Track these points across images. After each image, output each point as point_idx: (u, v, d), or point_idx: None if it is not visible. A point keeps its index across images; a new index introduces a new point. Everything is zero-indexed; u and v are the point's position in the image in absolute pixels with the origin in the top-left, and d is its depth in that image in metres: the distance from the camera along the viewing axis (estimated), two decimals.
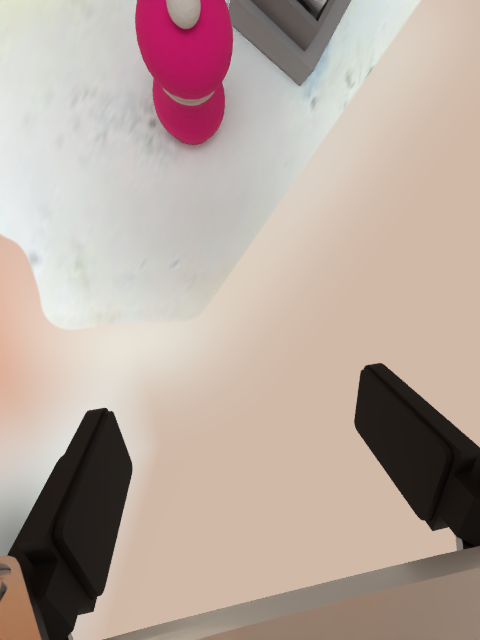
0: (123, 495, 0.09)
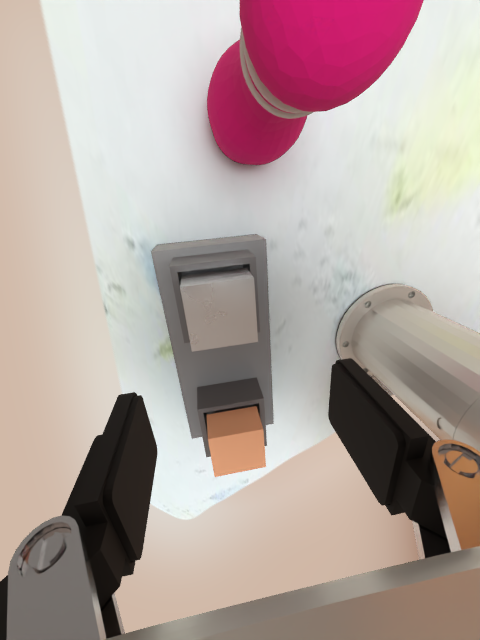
0: (151, 474, 0.10)
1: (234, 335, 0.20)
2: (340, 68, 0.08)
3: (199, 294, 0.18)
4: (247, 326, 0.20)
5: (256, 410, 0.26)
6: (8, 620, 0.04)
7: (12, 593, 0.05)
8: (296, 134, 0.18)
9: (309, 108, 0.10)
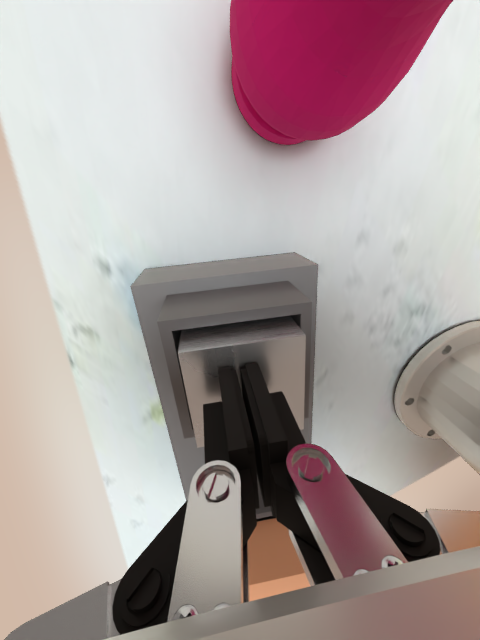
0: None
1: None
2: None
3: (211, 363, 0.10)
4: None
5: None
6: (184, 523, 0.06)
7: (189, 502, 0.06)
8: (406, 71, 0.09)
9: None
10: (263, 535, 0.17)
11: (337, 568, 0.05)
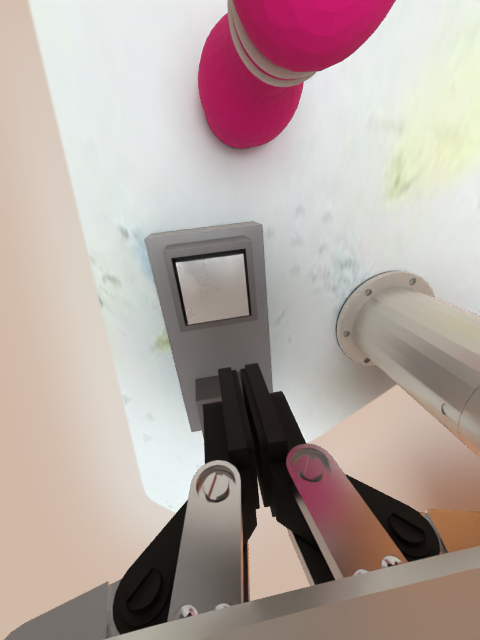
0: None
1: (227, 309, 0.21)
2: (333, 14, 0.08)
3: (193, 270, 0.20)
4: (238, 300, 0.21)
5: None
6: (184, 523, 0.06)
7: (189, 502, 0.06)
8: (291, 111, 0.18)
9: (301, 67, 0.10)
10: None
11: (337, 568, 0.05)
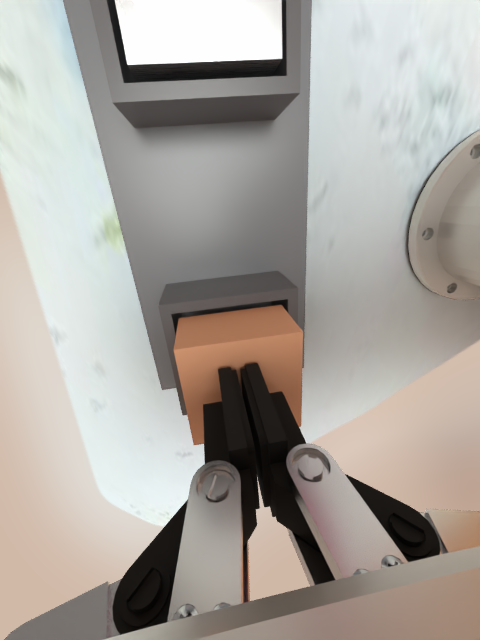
0: None
1: (228, 25, 0.08)
2: None
3: None
4: None
5: (282, 309, 0.13)
6: (184, 523, 0.06)
7: (189, 502, 0.06)
8: None
9: None
10: (239, 317, 0.12)
11: (337, 568, 0.05)
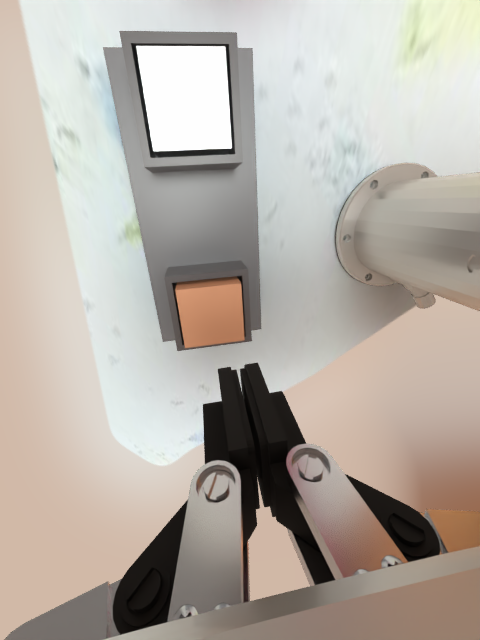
0: None
1: (203, 133, 0.17)
2: None
3: (160, 62, 0.15)
4: (218, 121, 0.17)
5: None
6: (184, 523, 0.06)
7: (189, 502, 0.06)
8: None
9: None
10: (210, 279, 0.22)
11: (337, 568, 0.05)
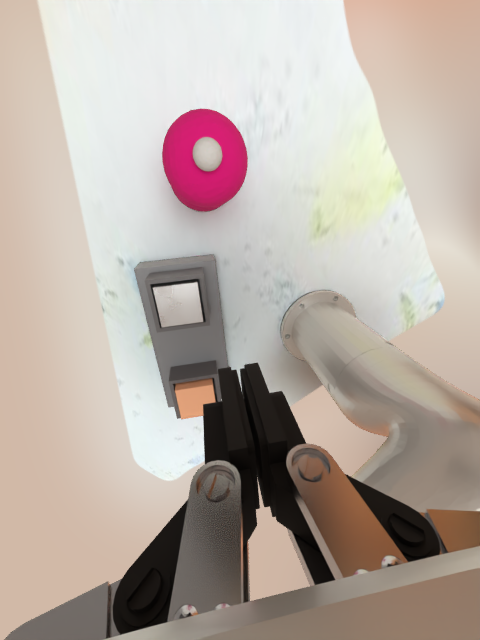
0: None
1: (188, 317, 0.32)
2: (207, 198, 0.18)
3: (164, 292, 0.30)
4: (195, 311, 0.32)
5: None
6: (184, 523, 0.06)
7: (189, 502, 0.06)
8: None
9: None
10: None
11: (337, 568, 0.05)
